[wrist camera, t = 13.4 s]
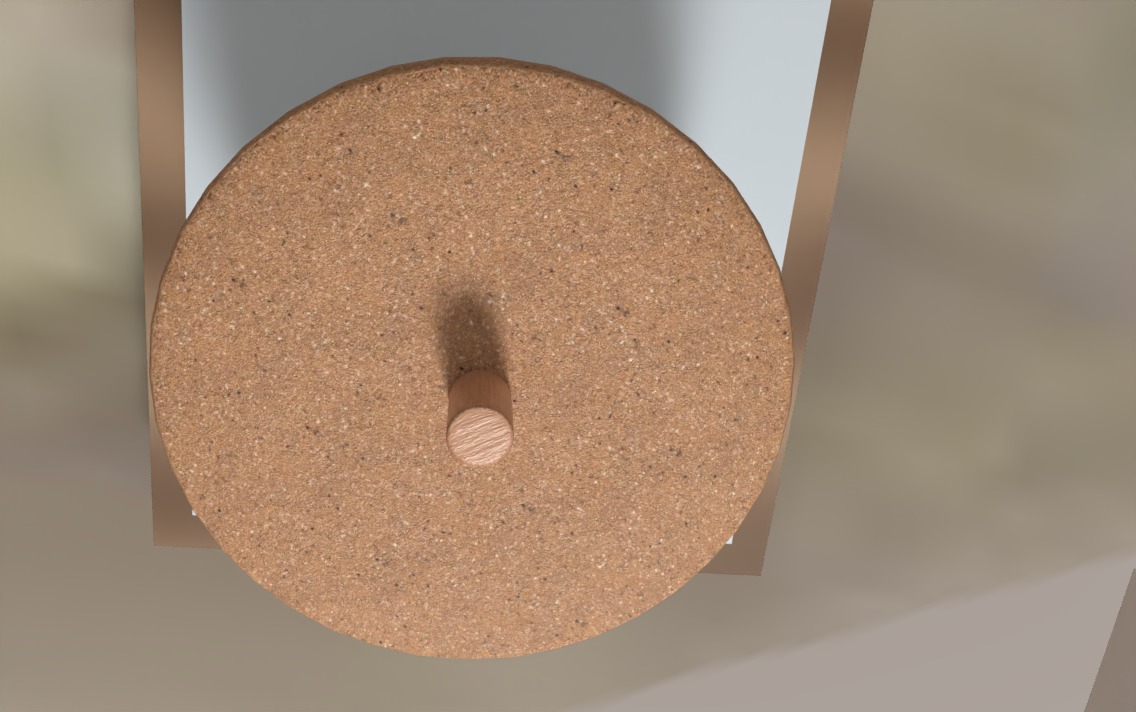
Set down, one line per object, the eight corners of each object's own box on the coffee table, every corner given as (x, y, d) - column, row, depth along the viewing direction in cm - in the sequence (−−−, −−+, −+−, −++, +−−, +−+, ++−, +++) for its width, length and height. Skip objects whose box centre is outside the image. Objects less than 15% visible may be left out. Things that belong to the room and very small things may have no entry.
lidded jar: (762, 377, 26) (908, 585, 17) (374, 534, 26) (320, 812, 18) (608, -46, 22) (692, -64, 13) (161, 149, 23) (-44, 256, 14)
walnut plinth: (170, -129, 23) (127, -144, 21) (840, -48, 25) (885, -52, 22) (184, 492, 29) (152, 547, 26) (735, 522, 30) (761, 578, 28)
